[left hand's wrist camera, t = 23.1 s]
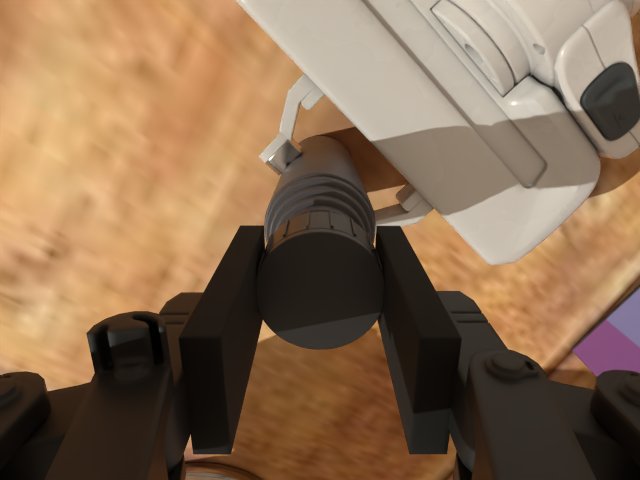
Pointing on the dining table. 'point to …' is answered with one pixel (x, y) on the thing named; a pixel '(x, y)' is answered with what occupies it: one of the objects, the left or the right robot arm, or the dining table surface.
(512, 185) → the right robot arm
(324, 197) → the bottle
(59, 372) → the dining table surface
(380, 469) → the dining table surface
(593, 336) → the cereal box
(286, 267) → the cap
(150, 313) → the left robot arm
